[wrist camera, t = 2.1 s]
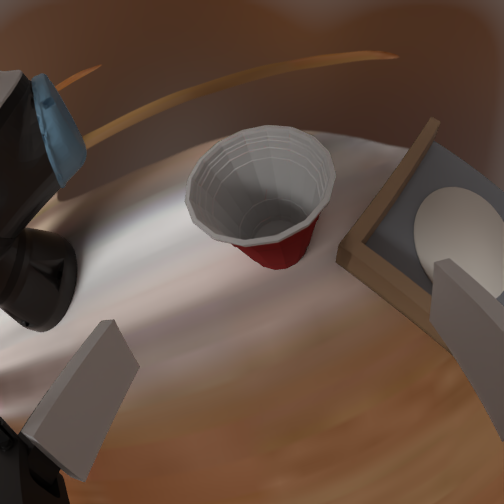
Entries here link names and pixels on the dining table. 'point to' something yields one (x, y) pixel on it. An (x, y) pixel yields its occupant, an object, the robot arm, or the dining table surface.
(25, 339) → the dining table surface
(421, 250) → the tray
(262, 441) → the dining table surface
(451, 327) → the robot arm
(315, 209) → the plastic cup
